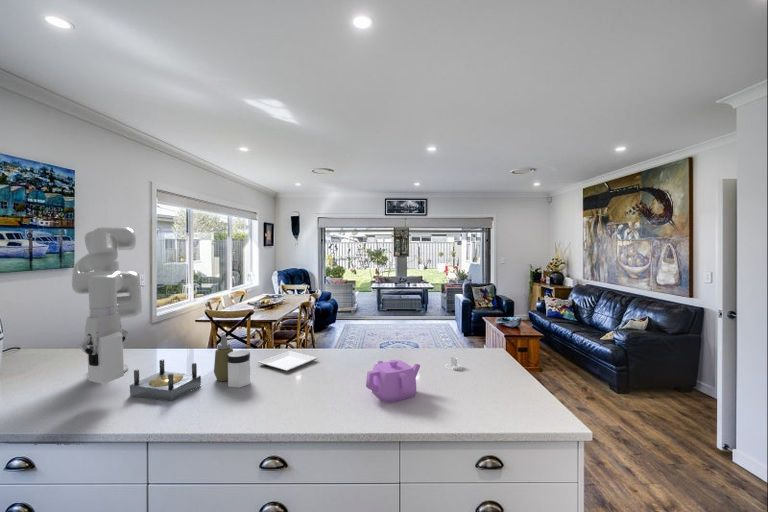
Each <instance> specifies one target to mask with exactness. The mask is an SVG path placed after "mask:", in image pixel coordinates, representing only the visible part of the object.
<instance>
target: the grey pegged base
mask: <svg viewBox="0 0 768 512" xmlns="http://www.w3.org/2000/svg"><path fill="white" fill-rule="evenodd" d="M158 362H159V372H157V373H154V374H153V375H149V376H148V377H145V378H143V379H141V380H140V369H134V370H133V382H134V383H132V384H129V396H130V397H134V398H135V397H136V398H140V399H141V398H142V399H143V398H144V399H148V400H149V399H150V400H154V401H155V400H156V401H163V402H170V403H172V402H174V401H176V400H177V399H179V398H181V397H183V396H185V395H186V393H187V394H188V392H189V393H191V392H192V391H194V390H196V389H197V388H196V387H198V386H200V385H201V386H202V378H201V377H202V376H201V375H198V373H197V371H198V369H197V367H198V366H197V363H196V362H193V363H191V373H181V372H172V371H165V359H159V361H158ZM201 386H200V387H201ZM195 388H196V389H195ZM198 388H199V387H198ZM193 389H194V390H193ZM191 390H192V391H191ZM190 391H191V392H190Z"/></svg>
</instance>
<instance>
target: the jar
mask: <svg viewBox="0 0 768 512" xmlns="http://www.w3.org/2000/svg"><path fill="white" fill-rule="evenodd" d="M250 353H251V352H250V351H249V350H244V349H240V350H233V352H230V353H228V355H227V360H228V380H227V382H228V383H227V386H228V388H236V387H237V388H238V389H239V388H243V387H245V386H249V385H250V384H251V363H250V362H251V361H250V358H251V354H250Z"/></svg>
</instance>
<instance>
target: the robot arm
mask: <svg viewBox="0 0 768 512" xmlns="http://www.w3.org/2000/svg"><path fill="white" fill-rule="evenodd" d="M136 242H137V235H136V232H135V230H133V229H132V228H130V227H127V226H126V227H125V226H124V227H123V226H122V227H119V226H118V227H117V226H103V227H102V226H101V227H97V228H95V229H93V230H92V231H89V232H86V233H85V235H84V245H85V247H86V250H87V252H88V253H87V254H85V255H83V256H82V257H81V258H79V259H78V260H77V261H76V262H75V264H74V266H73V268H72V274H71V287H72V290H73V291H74V293H76V294H80V295H86V294H88V308H89V309H88V310H89V316H87V317H86V320H85V325H84V340H83V341H81V342H80V344H79V345H78V348H79V349H80V350H81V351H82V352H84V353H86V355H87V354H89V365H91V366H98V354H96V353H97V347H98V346H99V340H100V339H99V338H101V337H105V336H108V335H111V334H113V333H116V332H118V331H120V333H121V334H122V342H123V343H124V342H125V340H126V337H127V336H128V334H129V331H128V330H125V329H123V327H122V320H123V319H132V318H133V319H134V318H137V317H140V315H141V314H142V310H143V304H142V289H141V287H142V286H141V279H140V276H139V274H138V273H137V272H136V271H120V266H119V264H120V263H119V261H118V257H119V255H118V251H131V250H133V249H134V248H135V247H136V244H137V243H136ZM123 294H125V295H123ZM117 295H123V296H117ZM91 340H92V341H91ZM90 341H91V343H90ZM92 343H93V344H94V345H92ZM87 345H90V346H89V348H88V347H87ZM93 347H94V349H93ZM92 349H93V350H92ZM124 357H125V356H123V367H124V373H125V372H127V371H128V370H129V365H127V364H125V362H124V361H125V360H124Z"/></svg>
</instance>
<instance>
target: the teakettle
mask: <svg viewBox="0 0 768 512" xmlns="http://www.w3.org/2000/svg"><path fill="white" fill-rule="evenodd" d="M420 368H421V364H419V363H414V365H413V366H411V365H410V364H408V363H406V362H405V361H403V360H401V359H400V360H399V359H398V360H396V359H390V360H388V361H383V360H378V361H377V363H376V364H374V365H373V368H372V370H370V371H367V373H366V381H365V382H366V383H365V387H366V388H367V389H368V390H371V393H372V394H373V395H374V396H376V398H377V399H379V400H380V401H381V402H382V403H384V404H385V403H387V404H389V403H395V402H400V401H404V400H407V399H411V398H413V397H416V393H417V380H416V378H417V375H418V373H419V371H420Z"/></svg>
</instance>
